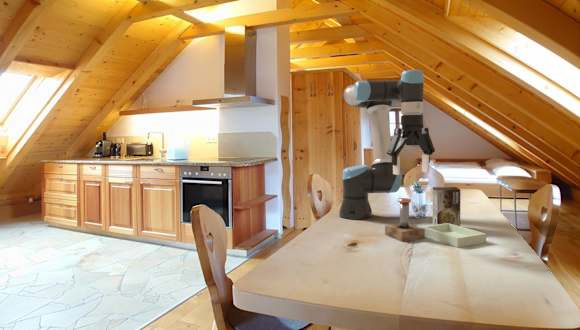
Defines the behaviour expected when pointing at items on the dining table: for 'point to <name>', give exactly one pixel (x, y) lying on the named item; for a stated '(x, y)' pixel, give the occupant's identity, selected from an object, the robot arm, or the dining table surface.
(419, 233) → the socket block
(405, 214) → the pin
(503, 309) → the dining table surface
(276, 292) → the dining table surface
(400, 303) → the dining table surface
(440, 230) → the tray
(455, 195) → the coffee box
